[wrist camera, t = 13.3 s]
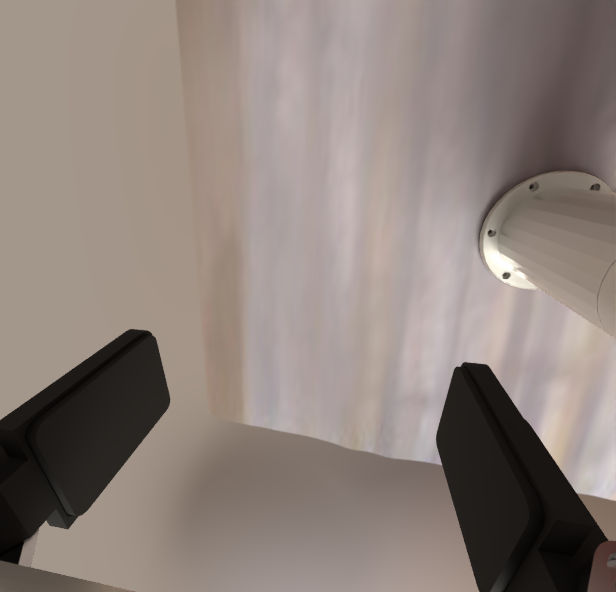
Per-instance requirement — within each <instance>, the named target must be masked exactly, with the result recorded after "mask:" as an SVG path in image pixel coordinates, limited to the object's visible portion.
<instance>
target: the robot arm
mask: <svg viewBox="0 0 616 592" xmlns="http://www.w3.org/2000/svg"><path fill="white" fill-rule="evenodd" d="M530 185H532V187H531V188H530V189H529V186H530ZM489 230H491V232H490V233H488V231H489ZM479 247H480V255H481V257H482V260H483V263H484V264H485V266H486V268H487V269H488V271H489V272H491V273H492V274H493V275H494V276H495V277H496V278H497V279H499V280H500V281H501V282H503V283H505V284H508V285H510V286H512V287H516V288H521V289H532V290H534V289H541V290H542V291H544V292H545V293H547V294H548V295H550V296H551V297H553V298H554V299H556V300H557V301H559V302H560V303H562V304H563V305H565V306H566V307H568V308H569V309H571V310H572V311H574V312H575V313H577V314H578V315H580V316H582V317H583V318H585V319H586V320H588V321H589V322H591V323H592V324H594V325H595V326H597V327H598V328H600V329H601V330H603V331H604V332H606V333H607V334H609V335H611V336H612V337H614V338H615V339H616V192H612V190H611V189H610V188H609V187H608V186H607V185H606V184H605V183H604V182H603V181H601V180H600V179H598V178H597V177H595V176H592V175H589V174H586V173H584V172H576V171H554V172H548V173H543V174H540V175H537V176H534V177H531V178H529V179H527V180H525V181H523V182H521V183H519V184H518V185H516V186H515V187H513V188H512V189H511V190H509V191H508V192H506V193H505V194H504V195H503V196H502V197H501V198H500V199H499V200H498V201H497V202H496V204H495V205H494V206H493V208H492V209H491V210H490V212H489V213H488V215H487V217H486V219H485V221H484V223H483V226H482V230H481V233H480V241H479ZM503 273H505V274H503ZM169 404H170V395H169V391H168V387H167V383H166V378H165V374H164V370H163V366H162V362H161V358H160V353H159V349H158V345H157V341H156V338H155V337H154V336H152V333H151V332H149V331H145V330H135V329H130V330H128V331H126V332H125V333H123V334H122V335H120V336H119V337H118V338H116V339H115V340H113V341H112V342H110V343H109V344H108V345H106V346H105V347H103V348H102V349H100V350H99V351H98V352H96V353H95V354H93V355H92V356H91V357H89V358H88V359H86V360H85V361H83V362H82V363H81V364H79V365H78V366H76V367H75V368H74V369H72V370H71V371H69V372H68V373H67V374H65V375H64V376H62V377H61V378H60V379H58V380H57V381H55V382H54V383H52V384H51V385H49V386H48V387H47V388H45V389H44V390H42V391H41V392H40V393H38V394H37V395H35V396H34V397H33V398H31V399H30V400H28V401H27V402H25V403H24V404H23V405H21V406H20V407H18V408H17V409H15V410H14V411H13V412H11V413H10V414H8V415H7V416H5V417H4V418H3V419H1V420H0V592H134V591H130V590H125V589H121V588H117V587H113V586H108V585H104V584H100V583H96V582H91V581H87V580H83V579H78V578H74V577H69V576H65V575H61V574H56V573H52V572H48V571H43V570H39V569H34V568H31V564H32V559H33V555H34V550H35V545H36V541H37V536H38V531H39V527H40V526H41V525H42V524H43V523H44V522H45V521H46V520H47V522H48V524H49V525H50V526H55V527H60V528H64V529H69V527H70V526H71V525H72V524H73V523H74V521H75V520H76V519H77V517H78V516H80V515H83V514H84V513H85V512H86V511H87V510H88V509H89V508H90V507H91V505H92V504H93V503H94V502H95V500H96V499H97V498H98V497H99V495H100V494H101V493H102V491H103V490H104V489H105V488H106V486H107V485H108V483H110V481H111V480H112V479H113V477H114V476H115V475H116V474H117V472H118V471H119V470H120V469H121V467H122V466H123V465H124V463H125V462H126V461H127V460H128V458H129V457H130V456H131V455H132V453H133V452H134V451H135V450H136V448H137V447H138V445H139V444H140V443H141V442H142V441H143V439H144V438H145V437H146V436H147V434H148V433H149V432H150V431H151V429H152V428H153V427H154V425H155V424H156V423H157V422H158V420H159V419H160V418H161V417H162V415H163V414H164V413H165V412H166V410H167V409H168V407H169ZM436 443H437V448H438V452H439V455H440V459H441V462H442V465H443V469H444V472H445V476H446V479H447V482H448V486H449V490H450V493H451V496H452V500H453V504H454V507H455V510H456V514H457V517H458V521H459V524H460V528H461V531H462V535H463V538H464V542H465V545H466V549H467V552H468V555H469V559H470V562H471V566H472V569H473V572H474V576H475V580H476V583H477V586H478V589H479V591H480V592H616V541H608V539H607V538H606V536H605V535H604V533H603V532H602V530H601V529H600V528H599V526H598V525H597V523H596V522H595V520H594V519H593V517H592V516H591V514H590V513H589V511H588V510H587V508H586V507H585V505H584V504H583V502H582V501H581V500H580V498H579V497H578V495H577V493H576V492H575V491H574V489H573V488H572V486H571V485H570V483H569V482H568V480H567V479H566V477H565V476H564V474H563V473H562V471H561V470H560V468H559V467H558V465H557V464H556V462H555V461H554V459H553V458H552V457H551V455H550V454H549V452H548V451H547V449H546V448H545V446H544V445H543V443H542V442H541V440H540V439H539V437H538V436H537V434H536V433H535V431H534V430H533V428H532V427H531V426H530V424H529V423H528V422H527V421H526V420H525V419H524V418H523V417H522V415H521V414H520V412H519V411H518V409H517V408H516V406H515V405H514V403H513V402H512V400H511V399H510V397H509V396H508V394H507V393H506V391H505V390H504V388H503V387H502V385H501V384H500V382H499V381H498V379H497V378H496V376H495V375H494V373H493V372H492V370H491V369H490V367H489V366H488V365H486V364H477V363H467V362H464V363H463V364H462V365H461V367H456V368H455V369H454V372H453V376H452V379H451V383H450V387H449V390H448V394H447V398H446V401H445V405H444V409H443V412H442V416H441V420H440V423H439V427H438V431H437V435H436Z"/></svg>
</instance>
